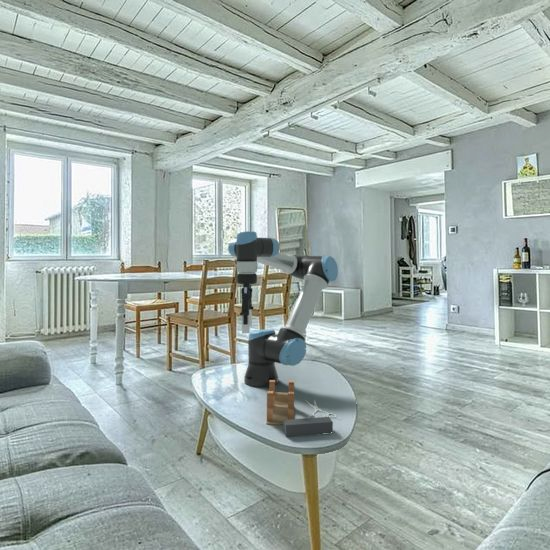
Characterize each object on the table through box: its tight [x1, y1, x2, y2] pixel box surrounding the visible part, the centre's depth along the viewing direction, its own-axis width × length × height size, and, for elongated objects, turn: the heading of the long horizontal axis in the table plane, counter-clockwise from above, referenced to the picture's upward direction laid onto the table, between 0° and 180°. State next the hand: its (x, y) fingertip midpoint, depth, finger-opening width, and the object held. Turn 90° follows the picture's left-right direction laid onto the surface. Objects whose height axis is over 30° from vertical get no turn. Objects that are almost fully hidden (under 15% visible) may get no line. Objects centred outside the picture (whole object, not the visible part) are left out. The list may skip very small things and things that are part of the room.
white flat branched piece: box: [304, 399, 341, 420], centre depth 140 cm, size 11×1×20 cm
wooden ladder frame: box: [265, 380, 295, 426], centre depth 134 cm, size 16×9×10 cm, turn 177°
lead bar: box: [282, 416, 334, 438], centre depth 121 cm, size 15×4×4 cm, turn 101°
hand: (247, 329), depth 144 cm, fingers open, 13 cm apart
